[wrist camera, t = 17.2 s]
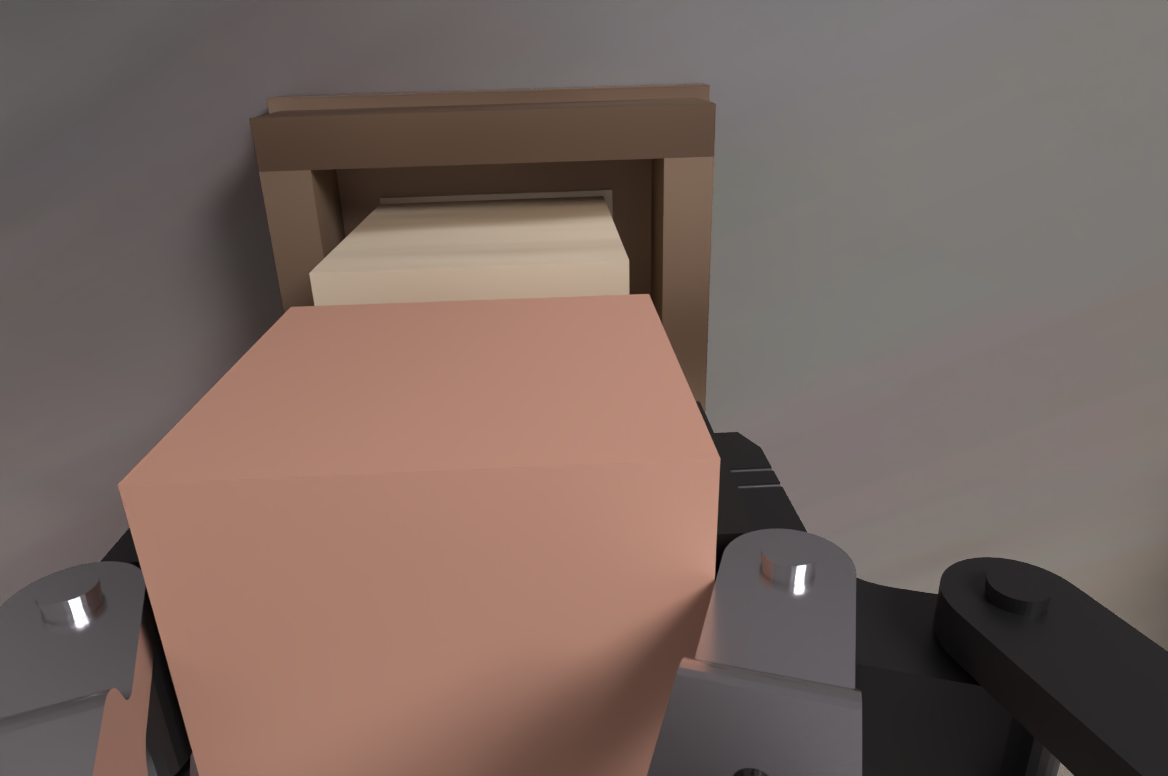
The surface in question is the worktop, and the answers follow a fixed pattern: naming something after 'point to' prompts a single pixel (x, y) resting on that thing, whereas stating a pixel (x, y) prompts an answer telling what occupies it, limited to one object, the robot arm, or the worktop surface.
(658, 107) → the socket board
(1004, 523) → the worktop surface
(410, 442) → the top block
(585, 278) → the base block
